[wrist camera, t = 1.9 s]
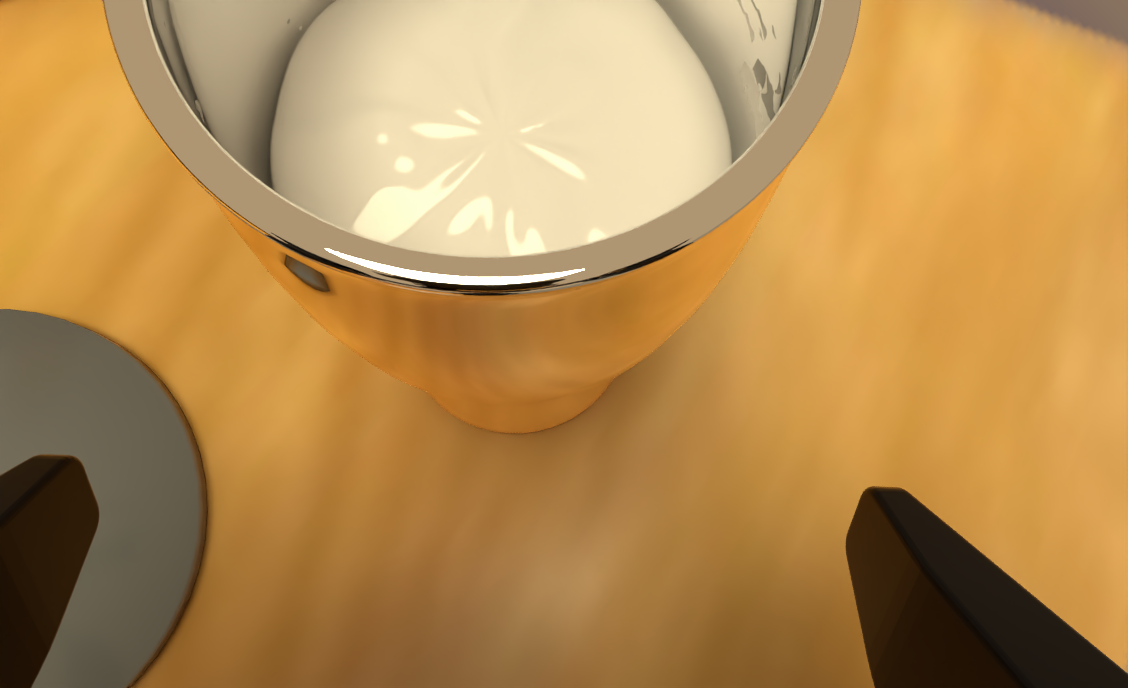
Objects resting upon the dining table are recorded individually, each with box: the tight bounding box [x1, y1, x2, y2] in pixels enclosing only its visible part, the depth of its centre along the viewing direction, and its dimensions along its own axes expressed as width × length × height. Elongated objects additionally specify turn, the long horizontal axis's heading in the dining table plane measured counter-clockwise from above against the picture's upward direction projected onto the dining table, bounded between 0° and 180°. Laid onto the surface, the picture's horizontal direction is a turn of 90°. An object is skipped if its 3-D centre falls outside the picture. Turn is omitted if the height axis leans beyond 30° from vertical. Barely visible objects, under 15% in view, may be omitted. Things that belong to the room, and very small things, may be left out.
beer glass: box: [102, 0, 861, 433], centre depth 14 cm, size 7×7×15 cm
